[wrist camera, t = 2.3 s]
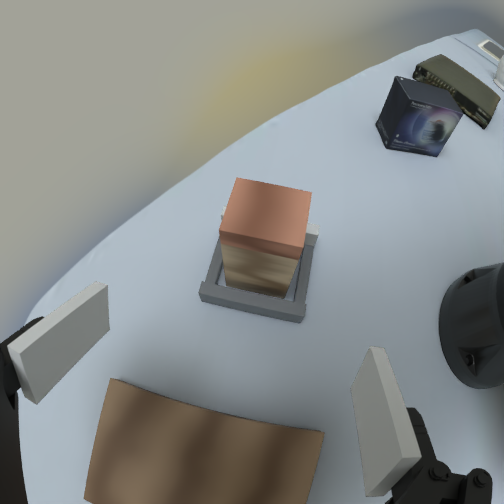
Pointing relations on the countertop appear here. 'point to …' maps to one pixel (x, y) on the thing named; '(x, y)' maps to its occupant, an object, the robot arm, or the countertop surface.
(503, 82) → the jar
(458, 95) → the network switch
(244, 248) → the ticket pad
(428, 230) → the countertop surface
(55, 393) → the countertop surface
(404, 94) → the small box
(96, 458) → the walnut board
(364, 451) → the robot arm
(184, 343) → the countertop surface
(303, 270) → the frame
